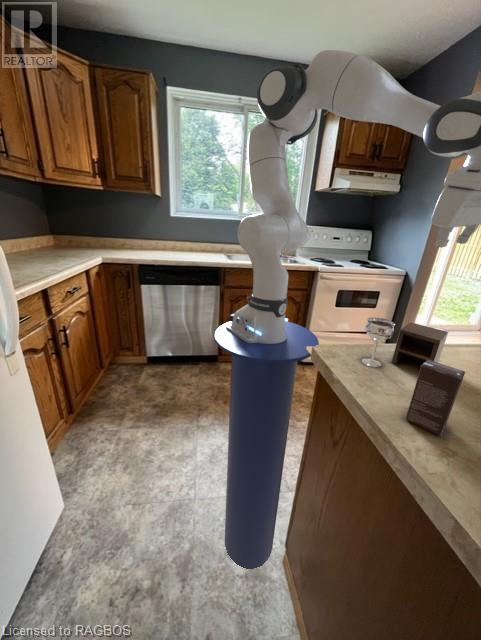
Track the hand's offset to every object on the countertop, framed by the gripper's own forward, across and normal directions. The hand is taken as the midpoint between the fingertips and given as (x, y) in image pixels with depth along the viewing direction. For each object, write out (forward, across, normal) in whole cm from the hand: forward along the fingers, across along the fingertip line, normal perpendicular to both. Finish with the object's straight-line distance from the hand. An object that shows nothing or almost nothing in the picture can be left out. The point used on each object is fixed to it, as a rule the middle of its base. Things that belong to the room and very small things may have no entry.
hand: (450, 244), depth 63 cm
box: (+27, +24, +20) cm, 41 cm away
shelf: (+31, +2, +6) cm, 32 cm away
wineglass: (+32, +12, 0) cm, 34 cm away
